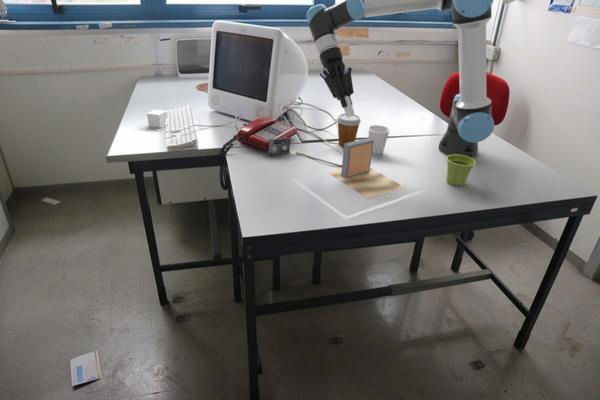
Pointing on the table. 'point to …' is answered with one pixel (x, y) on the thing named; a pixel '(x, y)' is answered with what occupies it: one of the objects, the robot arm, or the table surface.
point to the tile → (357, 157)
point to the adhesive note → (157, 118)
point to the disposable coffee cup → (347, 128)
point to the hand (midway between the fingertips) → (350, 115)
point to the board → (368, 183)
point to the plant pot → (458, 168)
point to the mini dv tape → (279, 145)
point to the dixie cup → (378, 137)
